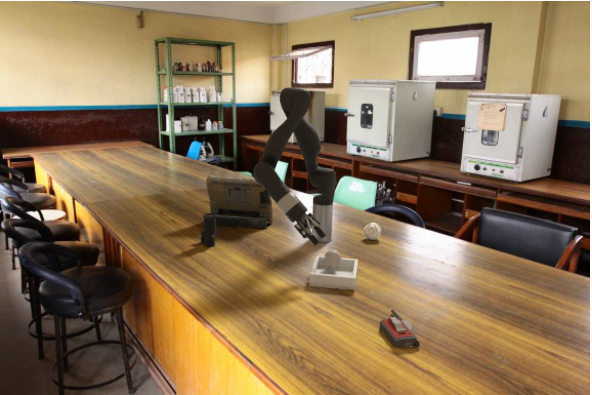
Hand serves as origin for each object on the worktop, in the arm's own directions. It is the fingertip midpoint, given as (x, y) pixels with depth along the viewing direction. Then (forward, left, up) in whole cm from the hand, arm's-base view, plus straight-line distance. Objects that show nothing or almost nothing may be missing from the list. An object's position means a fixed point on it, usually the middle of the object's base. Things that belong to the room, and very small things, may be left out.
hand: (320, 240), depth 166 cm
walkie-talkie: (+34, +27, -14) cm, 46 cm away
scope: (-22, -51, -14) cm, 57 cm away
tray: (+1, +6, -14) cm, 15 cm away
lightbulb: (+3, +4, -12) cm, 13 cm away
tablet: (-54, -47, -14) cm, 74 cm away
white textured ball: (-47, +19, -14) cm, 52 cm away
